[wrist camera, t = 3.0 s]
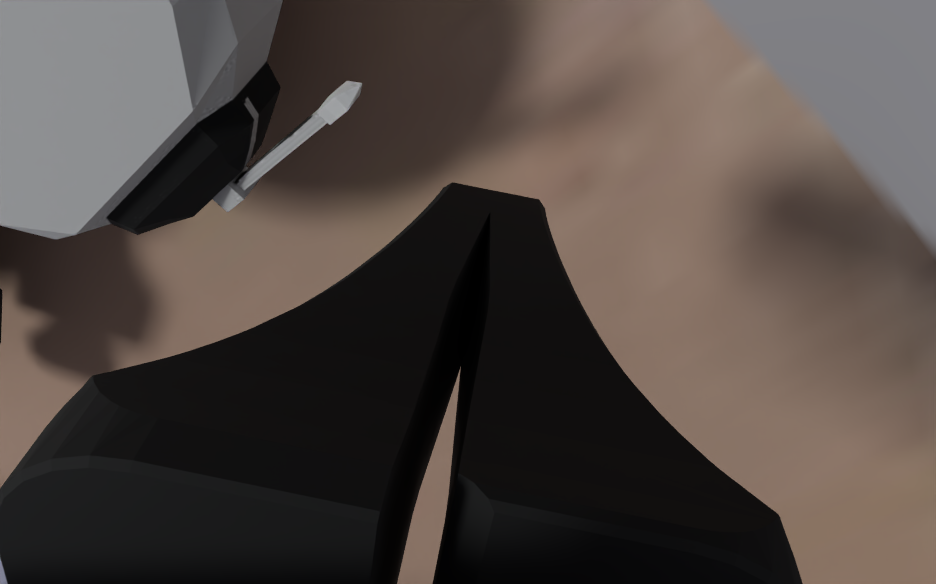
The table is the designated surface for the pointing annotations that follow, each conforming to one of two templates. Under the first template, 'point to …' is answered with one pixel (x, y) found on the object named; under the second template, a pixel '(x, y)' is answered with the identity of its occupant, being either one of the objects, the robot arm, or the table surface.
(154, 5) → the robot toy
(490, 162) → the table surface
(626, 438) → the robot arm
